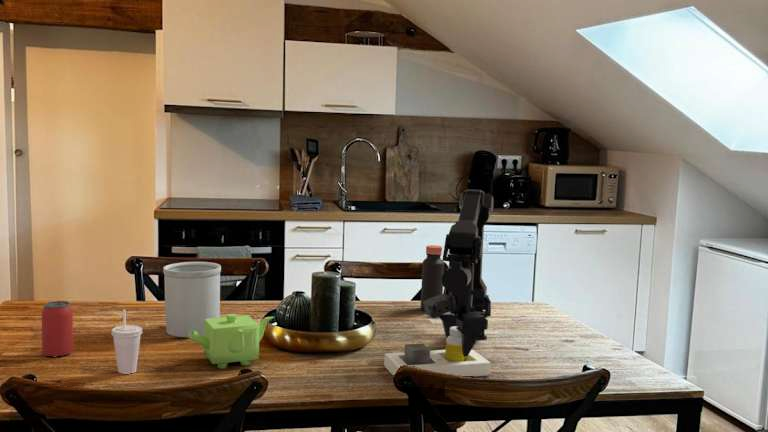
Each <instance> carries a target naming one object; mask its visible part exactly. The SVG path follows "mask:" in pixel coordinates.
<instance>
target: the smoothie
mask: <svg viewBox="0 0 768 432" xmlns="http://www.w3.org/2000/svg"><path fill="white" fill-rule="evenodd" d="M126 313H127V311H126V308H125V309H122V325H119V326H116V327H114V328H112V329H111V336H112V338H113V343H114V344H113V345H114V352H115V357H116V358H115V359H116V365H117V366H116V367H117V372H119V373H123V374H129V375H131V374H130V373H133V374H135V373H136V372H137V369H138V368H137V366H138V360H139V359H138V357H139V352H140V343H141V342H140V341H141V337H142V336H141V335H142V334H143V327H141V326H140V325H133V324H129V325H127V322H126V321H127V320H126V319H127V318H126V317H127V316H126ZM134 372H135V373H134ZM119 373H118V374H119Z"/></svg>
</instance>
